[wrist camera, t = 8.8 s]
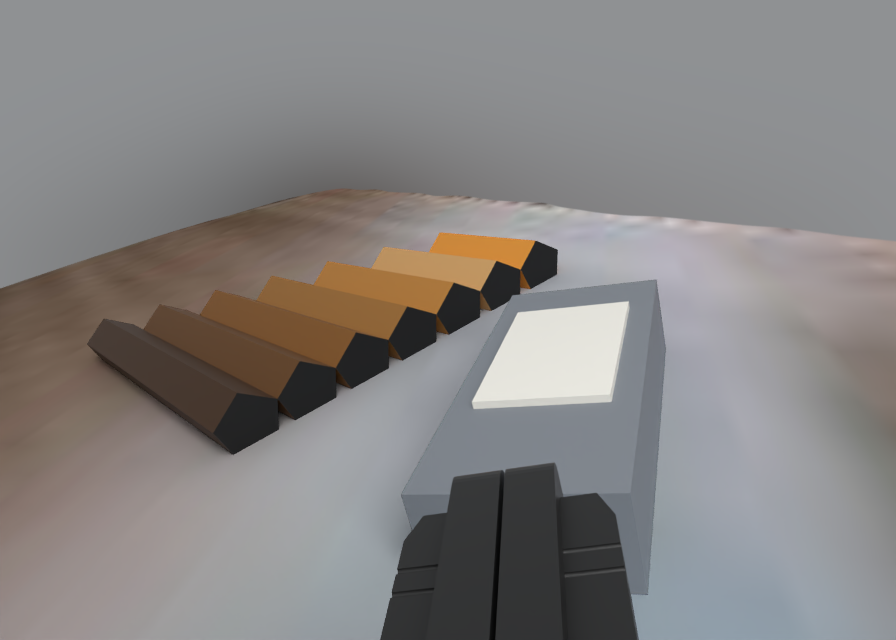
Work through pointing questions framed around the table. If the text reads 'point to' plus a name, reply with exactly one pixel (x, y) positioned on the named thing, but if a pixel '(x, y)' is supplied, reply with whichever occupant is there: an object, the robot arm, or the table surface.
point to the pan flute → (314, 332)
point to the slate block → (563, 407)
